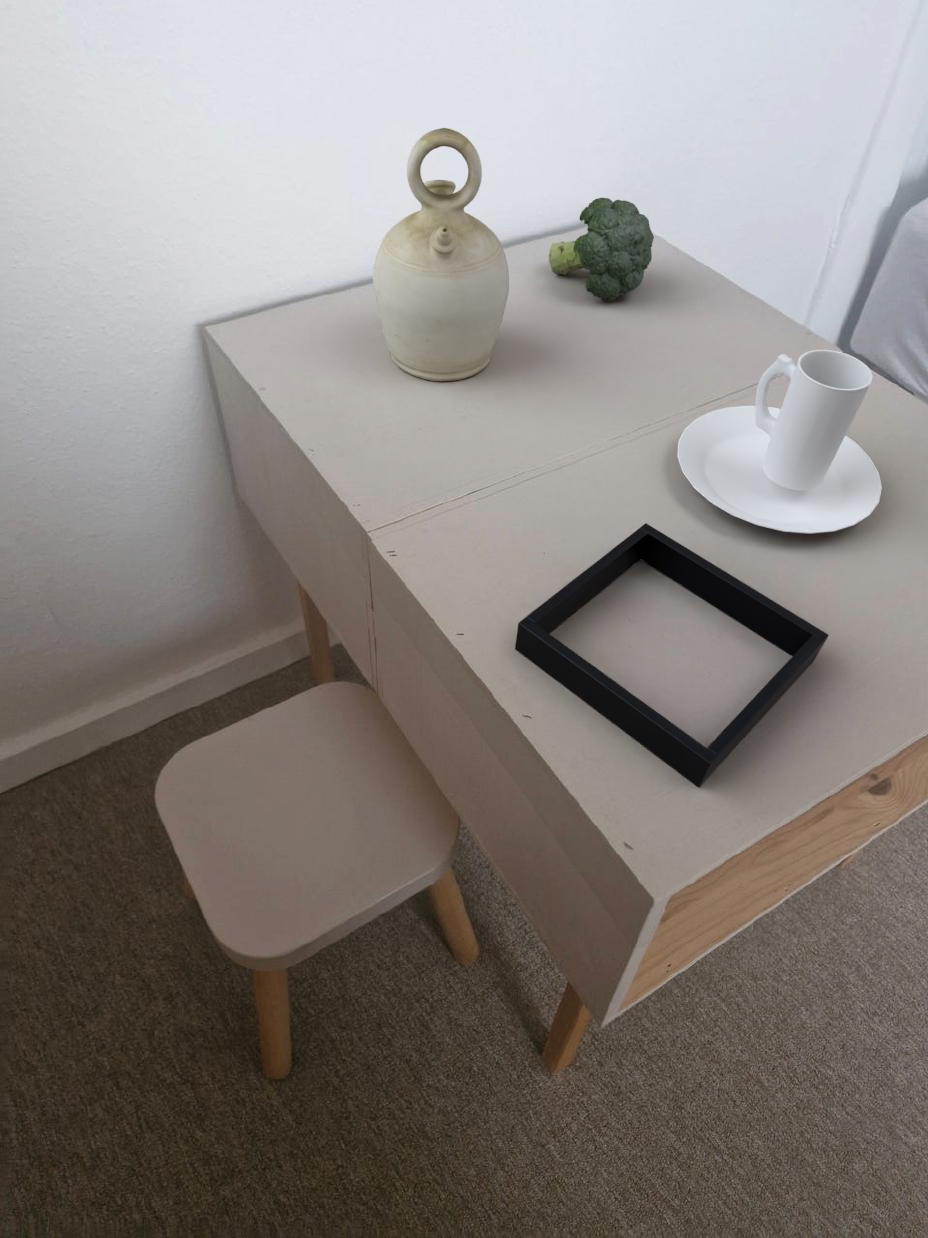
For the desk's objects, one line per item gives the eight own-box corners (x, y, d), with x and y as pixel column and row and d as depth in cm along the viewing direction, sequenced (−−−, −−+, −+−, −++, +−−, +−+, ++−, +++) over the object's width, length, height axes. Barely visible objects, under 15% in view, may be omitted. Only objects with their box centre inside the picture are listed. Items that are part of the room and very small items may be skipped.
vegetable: (582, 232, 122) (678, 211, 112) (572, 321, 122) (666, 308, 113) (534, 196, 113) (633, 170, 103) (522, 292, 113) (621, 275, 104)
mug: (838, 475, 87) (887, 373, 78) (801, 502, 84) (847, 398, 75) (757, 428, 92) (795, 327, 83) (720, 452, 89) (754, 349, 80)
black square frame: (814, 660, 74) (829, 634, 71) (698, 788, 65) (710, 764, 62) (638, 549, 82) (645, 522, 79) (514, 649, 73) (518, 622, 70)
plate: (913, 497, 89) (922, 480, 87) (787, 579, 80) (795, 562, 78) (758, 401, 99) (764, 384, 98) (632, 464, 91) (636, 447, 89)
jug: (399, 312, 109) (396, 94, 90) (515, 334, 107) (537, 115, 88) (357, 375, 99) (344, 145, 81) (484, 400, 97) (502, 170, 78)
